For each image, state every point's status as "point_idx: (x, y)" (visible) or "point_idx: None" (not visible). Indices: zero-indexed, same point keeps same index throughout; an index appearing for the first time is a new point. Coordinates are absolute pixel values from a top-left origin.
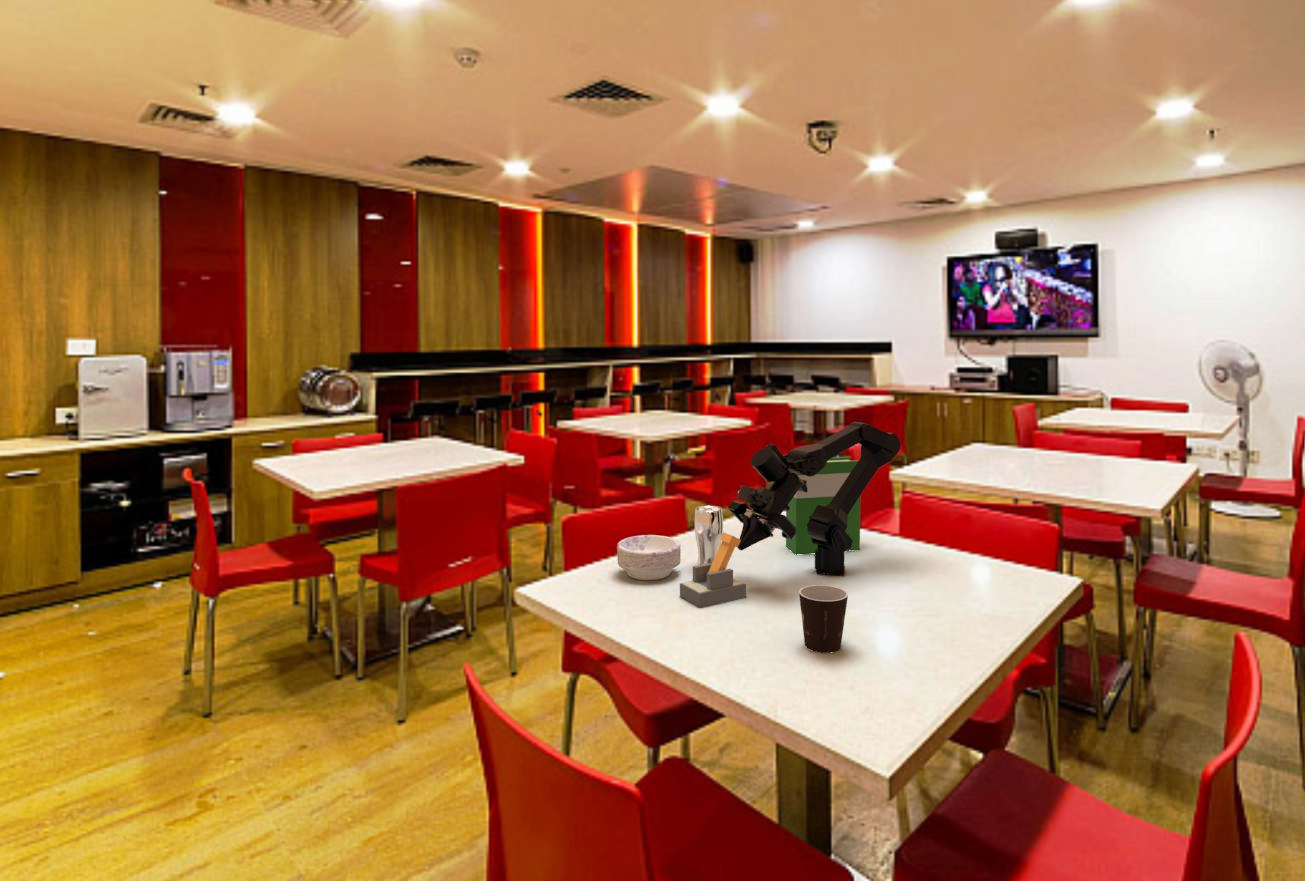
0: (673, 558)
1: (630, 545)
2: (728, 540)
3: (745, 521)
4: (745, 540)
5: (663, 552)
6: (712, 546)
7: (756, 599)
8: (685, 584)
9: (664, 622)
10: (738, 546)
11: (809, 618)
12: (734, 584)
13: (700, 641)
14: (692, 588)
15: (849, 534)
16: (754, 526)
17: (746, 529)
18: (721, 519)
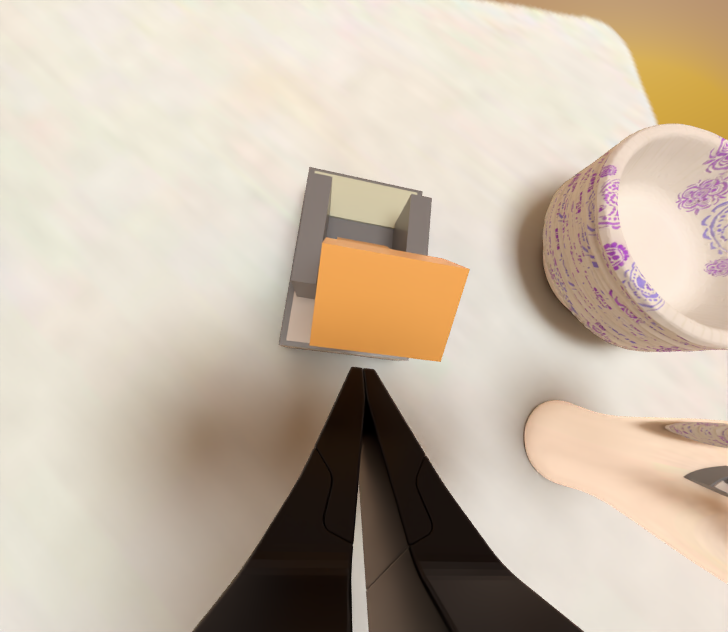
0: (577, 261)
1: None
2: (349, 243)
3: (490, 610)
4: (329, 414)
5: (602, 202)
6: (612, 453)
7: (250, 360)
8: (400, 190)
9: (293, 78)
10: (360, 369)
11: None
12: (298, 303)
13: (137, 50)
14: (358, 181)
15: None
16: (251, 586)
17: (396, 511)
18: None
